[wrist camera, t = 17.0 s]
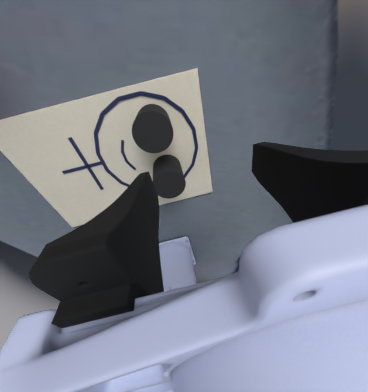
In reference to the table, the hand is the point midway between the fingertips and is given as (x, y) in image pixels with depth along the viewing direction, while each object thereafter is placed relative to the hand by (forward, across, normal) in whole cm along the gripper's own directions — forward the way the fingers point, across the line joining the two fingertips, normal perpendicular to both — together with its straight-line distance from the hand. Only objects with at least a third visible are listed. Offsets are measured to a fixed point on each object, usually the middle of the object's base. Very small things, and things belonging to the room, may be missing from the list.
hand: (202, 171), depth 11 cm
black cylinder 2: (+10, +3, +4) cm, 11 cm away
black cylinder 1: (+10, +3, -2) cm, 10 cm away
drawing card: (+10, +8, +2) cm, 13 cm away
